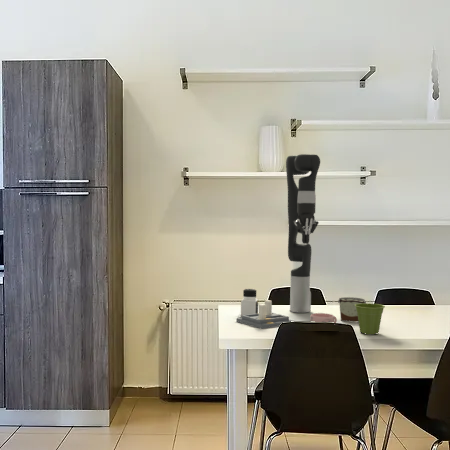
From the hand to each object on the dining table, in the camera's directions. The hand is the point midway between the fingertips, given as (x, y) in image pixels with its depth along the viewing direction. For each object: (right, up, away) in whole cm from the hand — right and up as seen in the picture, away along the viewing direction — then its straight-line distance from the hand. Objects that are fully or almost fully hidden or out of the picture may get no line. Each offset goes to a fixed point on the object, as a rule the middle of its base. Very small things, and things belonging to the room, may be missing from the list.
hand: (305, 243), depth 237 cm
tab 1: (-18, -33, +2) cm, 38 cm away
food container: (+23, -35, +17) cm, 46 cm away
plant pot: (+24, -36, -10) cm, 44 cm away
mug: (+7, -36, -3) cm, 36 cm away
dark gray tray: (-16, -35, +7) cm, 39 cm away
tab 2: (-15, -33, +13) cm, 38 cm away
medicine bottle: (-22, -34, +26) cm, 48 cm away
